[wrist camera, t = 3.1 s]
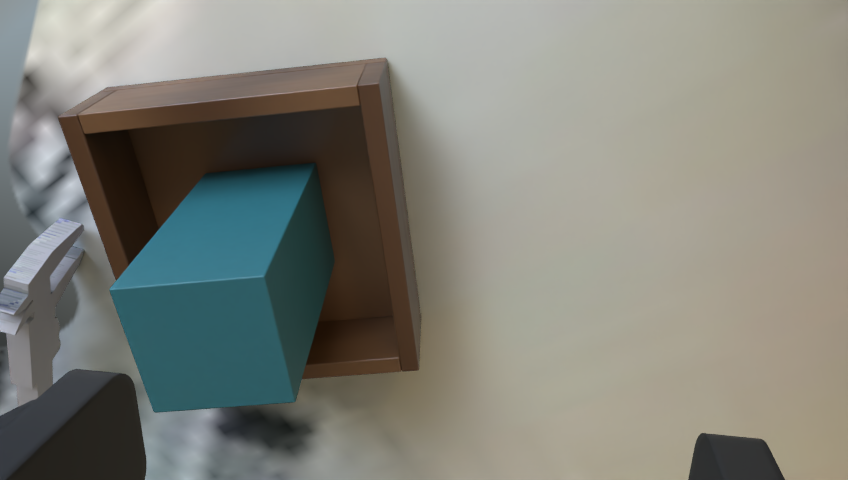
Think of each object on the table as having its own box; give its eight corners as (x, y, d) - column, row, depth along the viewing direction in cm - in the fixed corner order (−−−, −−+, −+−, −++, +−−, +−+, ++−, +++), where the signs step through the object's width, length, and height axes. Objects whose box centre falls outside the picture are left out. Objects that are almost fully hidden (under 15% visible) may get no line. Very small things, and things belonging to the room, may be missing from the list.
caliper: (65, 211, 32) (-13, 277, 27) (88, 217, 33) (15, 285, 27) (35, 506, 41) (-29, 602, 36) (53, 510, 41) (-7, 607, 36)
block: (316, 161, 30) (264, 275, 21) (335, 261, 32) (295, 402, 23) (204, 172, 30) (107, 289, 22) (231, 270, 33) (153, 413, 24)
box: (387, 56, 29) (379, 82, 25) (421, 317, 35) (419, 371, 31) (105, 87, 30) (56, 116, 26) (185, 336, 35) (154, 391, 32)
